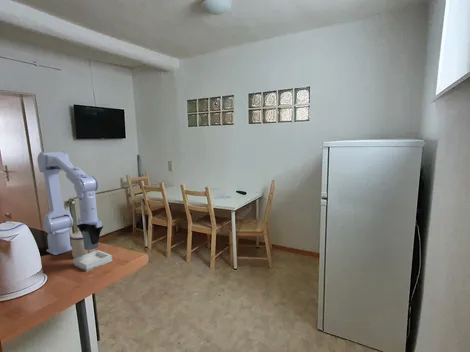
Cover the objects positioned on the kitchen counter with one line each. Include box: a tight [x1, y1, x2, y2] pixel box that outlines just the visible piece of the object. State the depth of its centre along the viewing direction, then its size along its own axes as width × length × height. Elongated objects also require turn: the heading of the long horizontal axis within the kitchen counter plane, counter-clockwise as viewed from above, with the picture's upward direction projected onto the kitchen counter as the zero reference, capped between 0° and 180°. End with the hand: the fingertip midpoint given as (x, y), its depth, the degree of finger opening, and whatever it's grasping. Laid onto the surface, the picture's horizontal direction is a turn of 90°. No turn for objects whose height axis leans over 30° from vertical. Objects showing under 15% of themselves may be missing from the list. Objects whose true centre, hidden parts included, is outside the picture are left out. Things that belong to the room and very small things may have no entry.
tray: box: [72, 249, 113, 272], centre depth 104 cm, size 10×10×2 cm
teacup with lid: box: [70, 229, 97, 259], centre depth 114 cm, size 12×9×12 cm
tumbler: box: [82, 229, 100, 250], centre depth 103 cm, size 5×5×7 cm
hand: (91, 242), depth 104 cm, fingers closed on tumbler, 5 cm apart
